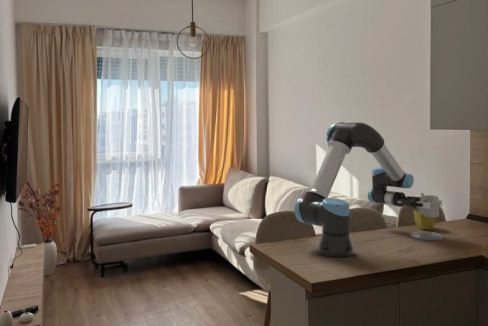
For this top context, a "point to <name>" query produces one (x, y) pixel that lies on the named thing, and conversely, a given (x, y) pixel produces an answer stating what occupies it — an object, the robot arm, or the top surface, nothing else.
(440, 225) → the top surface
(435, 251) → the top surface
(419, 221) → the flower pot
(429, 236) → the trivet
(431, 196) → the mug
